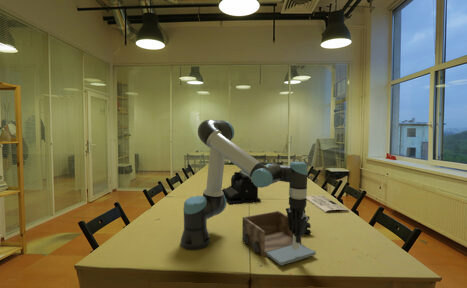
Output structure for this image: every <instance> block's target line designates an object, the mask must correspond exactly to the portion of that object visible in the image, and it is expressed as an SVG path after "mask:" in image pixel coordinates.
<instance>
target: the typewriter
mask: <svg viewBox="0 0 467 288" xmlns="http://www.w3.org/2000/svg"><path fill="white" fill-rule="evenodd" d="M233 173H234V174H232V176H231V178H230V184H229V185H228V187H226V188H225V187H224V188H222V189H221V190H222V191H223V192H224V196H225V199H226V204H228V205H229V206H232V205H233V204H235V205H243V204H242V203H245V204H254V203H253V202H255V203H261V202H262V199H260V198H259V187H257V186H255V185H254V183H253V181H252V177H250V176H249V175H248V174H246V173H245V172H244V171H243V170H241V169H240V170H239V171H234V172H233Z"/></svg>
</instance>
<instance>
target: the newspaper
mask: <svg viewBox="0 0 467 288" xmlns="http://www.w3.org/2000/svg"><path fill="white" fill-rule="evenodd" d="M306 199H307V201H308V202H310V203H311V204H313V205H314V206H315V207H317V208H318V209H320V210H322V212H324V213H326V214H328V213H329V211H336V210H337V211H339V210H341V211H340V212H341V213H349V212H350V210H349V209H347V208H345V207H344V206H342V205H340V204H338V203H336V202H335V201H333V200H331V199H329V198H328V197H326V196H325V195H307V197H306Z"/></svg>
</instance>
